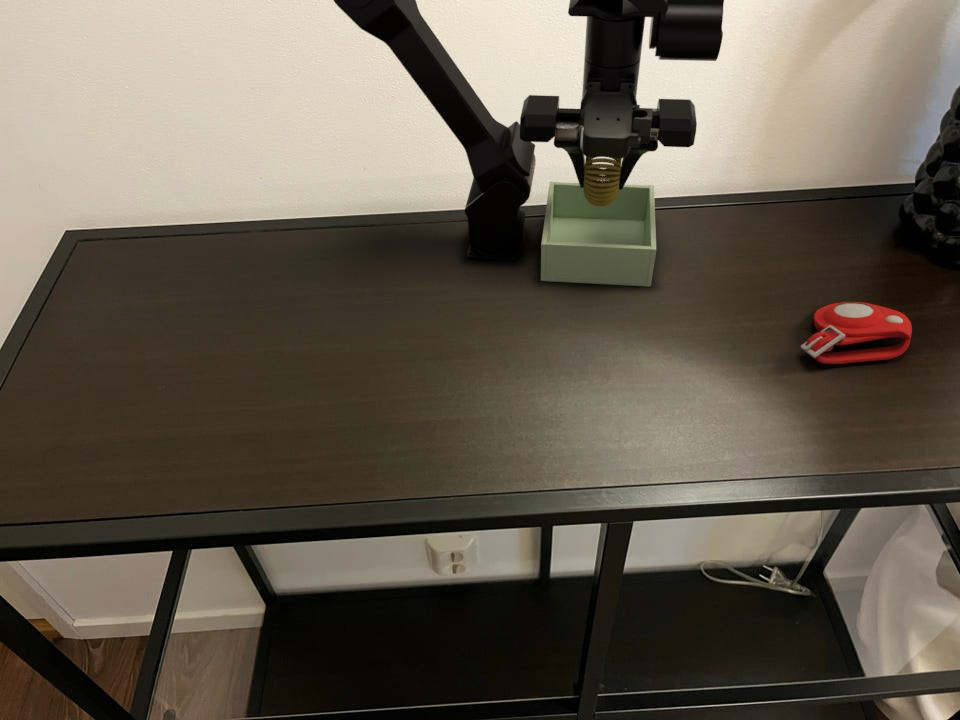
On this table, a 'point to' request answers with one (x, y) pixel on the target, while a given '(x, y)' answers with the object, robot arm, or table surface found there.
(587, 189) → the sculpture
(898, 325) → the tracker holder
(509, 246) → the robot arm
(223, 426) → the table surface
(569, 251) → the bin
